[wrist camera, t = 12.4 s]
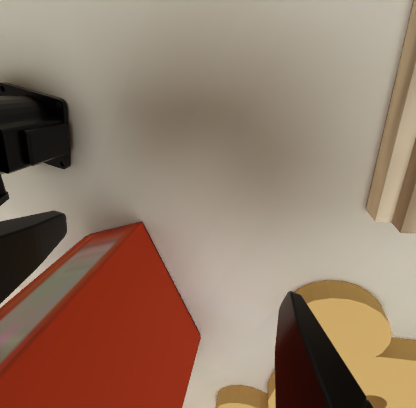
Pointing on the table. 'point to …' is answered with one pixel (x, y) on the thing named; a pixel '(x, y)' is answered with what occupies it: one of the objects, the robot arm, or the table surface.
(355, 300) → the decorative plaque
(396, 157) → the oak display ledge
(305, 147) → the table surface
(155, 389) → the file binder
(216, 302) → the table surface
